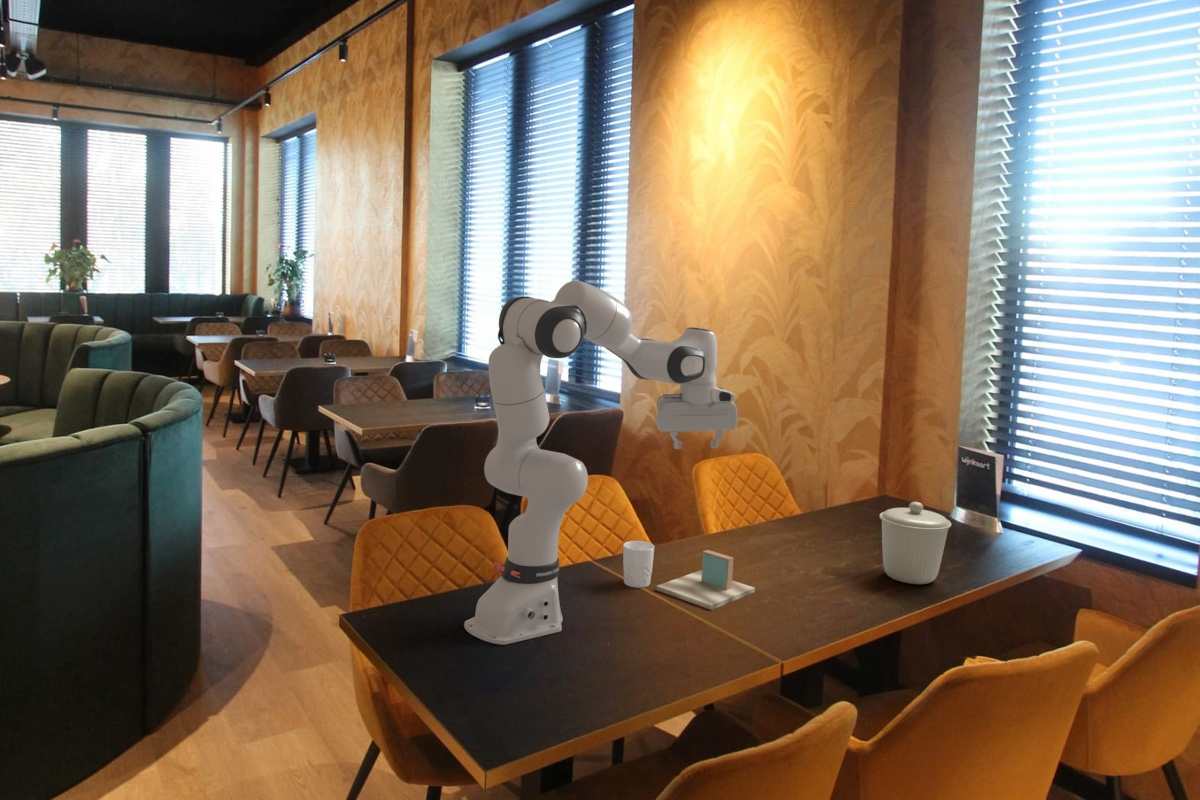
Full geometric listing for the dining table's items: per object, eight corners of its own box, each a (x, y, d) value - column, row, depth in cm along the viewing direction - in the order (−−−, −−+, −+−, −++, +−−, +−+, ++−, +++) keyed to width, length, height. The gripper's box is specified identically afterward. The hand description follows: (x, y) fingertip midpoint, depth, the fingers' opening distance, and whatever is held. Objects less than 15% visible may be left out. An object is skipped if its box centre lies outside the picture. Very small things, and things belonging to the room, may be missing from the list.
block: (726, 590, 211) (728, 559, 210) (700, 581, 216) (702, 551, 215) (731, 588, 213) (733, 557, 211) (705, 579, 218) (707, 549, 217)
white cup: (650, 590, 213) (652, 551, 211) (619, 586, 214) (620, 548, 213) (654, 579, 220) (656, 542, 219) (624, 576, 222) (626, 539, 220)
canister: (956, 580, 229) (964, 503, 226) (927, 595, 217) (935, 515, 214) (893, 562, 242) (899, 490, 239) (862, 576, 229) (868, 500, 226)
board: (711, 610, 201) (711, 605, 201) (656, 590, 213) (656, 585, 213) (754, 592, 214) (754, 587, 214) (700, 574, 226) (700, 570, 225)
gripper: (660, 396, 205) (659, 452, 207) (741, 394, 209) (738, 449, 211) (653, 392, 211) (652, 446, 213) (732, 390, 215) (729, 444, 217)
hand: (696, 448), depth 212 cm, fingers open, 8 cm apart
